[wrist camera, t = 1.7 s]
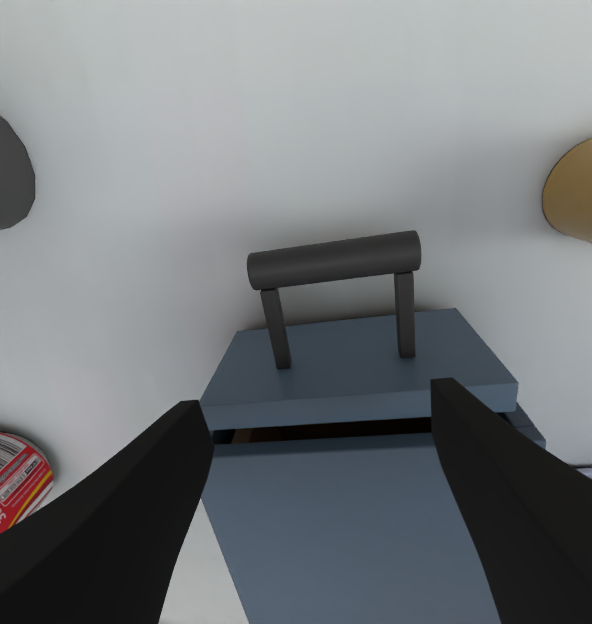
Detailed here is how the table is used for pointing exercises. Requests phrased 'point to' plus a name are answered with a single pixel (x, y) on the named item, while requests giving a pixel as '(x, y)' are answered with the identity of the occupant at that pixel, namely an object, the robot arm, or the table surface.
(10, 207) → the candle holder
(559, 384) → the table surface
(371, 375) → the drawer
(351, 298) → the table surface
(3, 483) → the soda can
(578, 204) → the cylinder
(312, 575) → the cabinet
